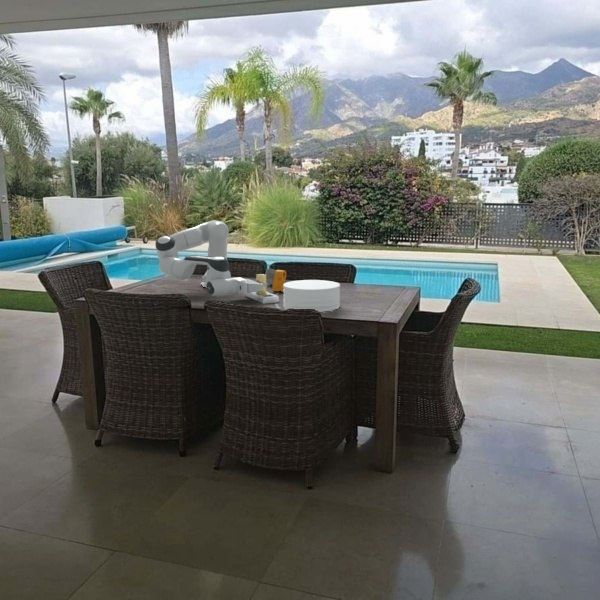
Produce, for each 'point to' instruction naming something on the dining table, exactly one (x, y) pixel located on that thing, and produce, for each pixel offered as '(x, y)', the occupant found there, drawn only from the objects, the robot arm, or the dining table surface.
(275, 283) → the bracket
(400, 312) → the dining table surface
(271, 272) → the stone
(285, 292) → the plate stack
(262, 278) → the peg
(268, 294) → the white power strip
